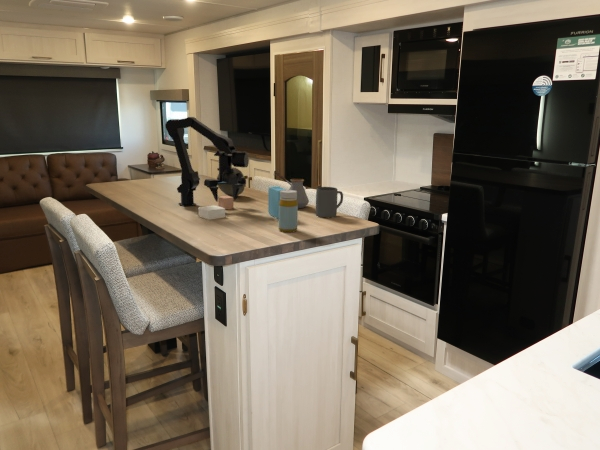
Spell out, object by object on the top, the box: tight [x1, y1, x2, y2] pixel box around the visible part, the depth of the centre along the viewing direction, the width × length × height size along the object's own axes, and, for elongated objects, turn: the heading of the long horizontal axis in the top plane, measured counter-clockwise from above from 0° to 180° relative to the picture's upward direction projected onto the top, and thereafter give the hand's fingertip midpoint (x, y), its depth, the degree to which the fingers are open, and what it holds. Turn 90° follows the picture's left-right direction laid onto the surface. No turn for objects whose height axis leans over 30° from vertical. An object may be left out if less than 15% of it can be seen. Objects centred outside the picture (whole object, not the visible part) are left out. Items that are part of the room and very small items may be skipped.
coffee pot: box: [273, 171, 310, 209], centre depth 223 cm, size 21×12×15 cm, turn 45°
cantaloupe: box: [216, 167, 246, 197], centre depth 241 cm, size 14×14×15 cm
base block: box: [198, 204, 226, 221], centre depth 197 cm, size 8×8×4 cm
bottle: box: [278, 189, 299, 233], centre depth 176 cm, size 7×7×15 cm
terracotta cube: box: [217, 195, 235, 210], centre depth 216 cm, size 5×5×5 cm
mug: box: [315, 186, 344, 219], centre depth 204 cm, size 14×9×12 cm
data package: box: [267, 186, 287, 220], centre depth 200 cm, size 12×4×12 cm, turn 24°
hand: (225, 200), depth 215 cm, fingers open, 9 cm apart
